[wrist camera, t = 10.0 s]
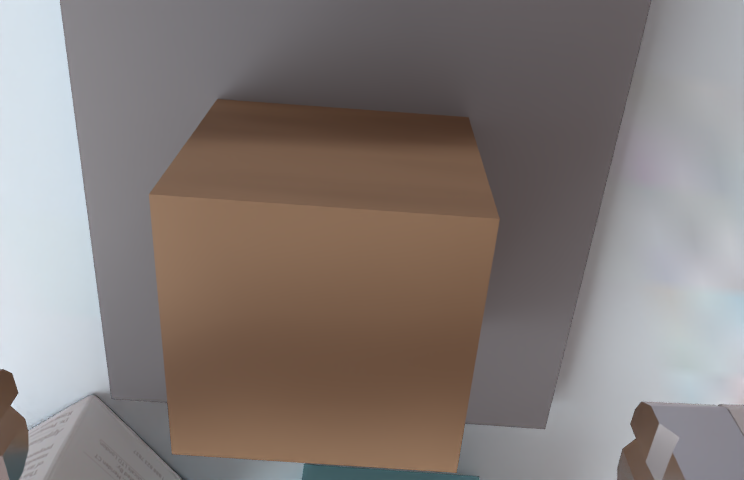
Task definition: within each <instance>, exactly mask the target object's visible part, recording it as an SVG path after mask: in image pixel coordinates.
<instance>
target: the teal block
mask: <svg viewBox="0 0 744 480" xmlns="http://www.w3.org/2000/svg"><path fill="white" fill-rule="evenodd" d="M302 480H479V476H465V475H451V474H438V473H424V472H410V471H396V470H382V469H368V468H354V467H340V466H326V465H312V464H304V469H303V476H302Z"/></svg>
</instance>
